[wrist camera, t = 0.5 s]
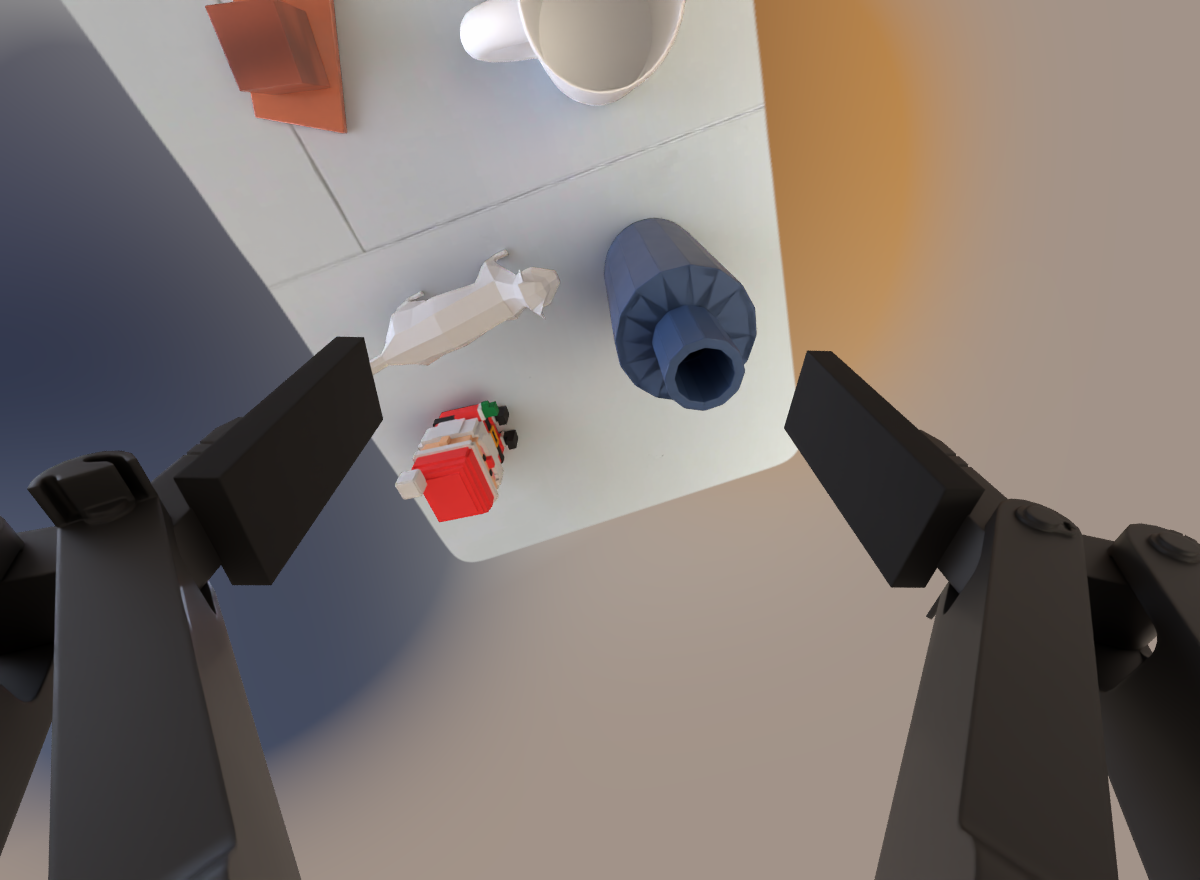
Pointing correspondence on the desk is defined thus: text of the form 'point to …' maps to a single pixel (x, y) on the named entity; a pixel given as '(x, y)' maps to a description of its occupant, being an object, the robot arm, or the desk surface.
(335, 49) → the orange flat plate
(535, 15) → the mug
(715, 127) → the desk surface
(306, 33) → the terracotta block
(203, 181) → the desk surface
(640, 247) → the blue bottle
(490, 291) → the cat figurine
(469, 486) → the figurine
